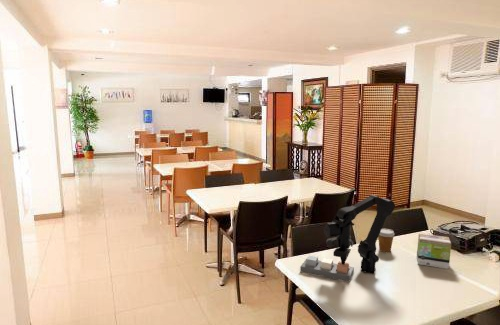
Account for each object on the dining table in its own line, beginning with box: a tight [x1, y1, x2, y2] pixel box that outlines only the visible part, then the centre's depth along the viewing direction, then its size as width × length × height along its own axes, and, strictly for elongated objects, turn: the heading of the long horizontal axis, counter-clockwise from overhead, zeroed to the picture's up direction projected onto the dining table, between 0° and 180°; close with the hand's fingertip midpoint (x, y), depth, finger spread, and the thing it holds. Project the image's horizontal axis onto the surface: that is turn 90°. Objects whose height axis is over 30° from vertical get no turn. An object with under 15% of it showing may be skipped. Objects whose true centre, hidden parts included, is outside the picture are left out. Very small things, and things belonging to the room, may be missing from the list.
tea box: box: [416, 233, 452, 270], centre depth 189 cm, size 15×10×15 cm
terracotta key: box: [336, 260, 350, 273], centre depth 176 cm, size 5×5×5 cm
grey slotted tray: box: [299, 259, 355, 283], centre depth 180 cm, size 25×11×3 cm, turn 64°
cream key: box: [320, 257, 334, 270], centre depth 180 cm, size 5×5×5 cm
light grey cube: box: [305, 255, 319, 267], centre depth 184 cm, size 5×5×5 cm
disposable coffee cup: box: [377, 228, 395, 253], centre depth 208 cm, size 10×10×12 cm
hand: (343, 263), depth 176 cm, fingers closed, pressing on terracotta key
